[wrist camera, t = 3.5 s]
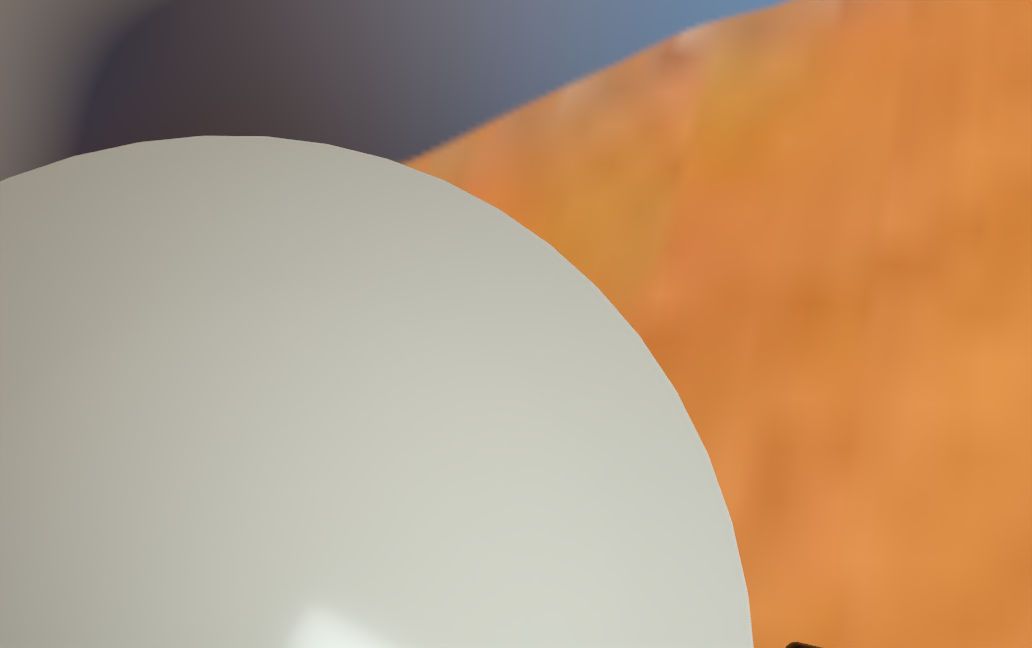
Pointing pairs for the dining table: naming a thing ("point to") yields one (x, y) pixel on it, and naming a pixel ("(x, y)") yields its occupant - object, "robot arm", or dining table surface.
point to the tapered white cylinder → (331, 419)
